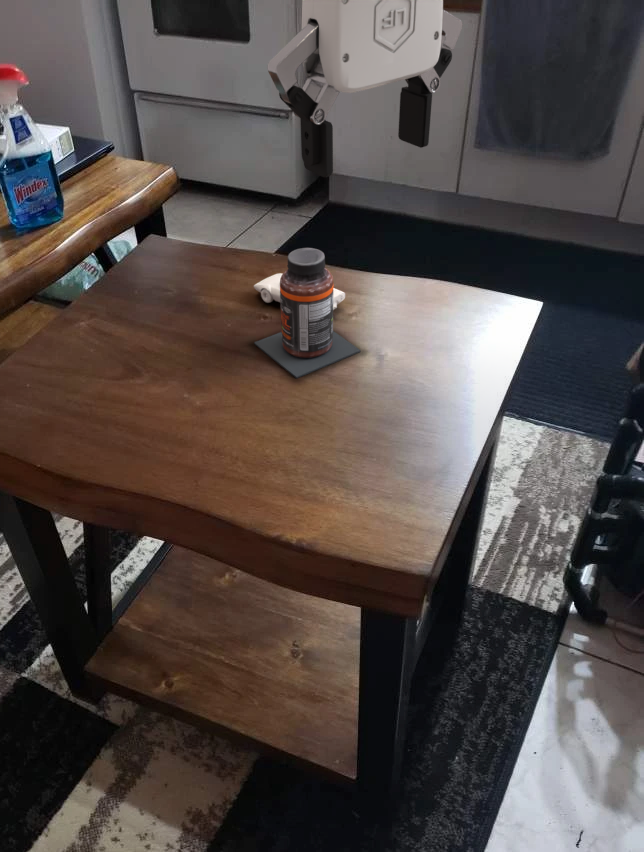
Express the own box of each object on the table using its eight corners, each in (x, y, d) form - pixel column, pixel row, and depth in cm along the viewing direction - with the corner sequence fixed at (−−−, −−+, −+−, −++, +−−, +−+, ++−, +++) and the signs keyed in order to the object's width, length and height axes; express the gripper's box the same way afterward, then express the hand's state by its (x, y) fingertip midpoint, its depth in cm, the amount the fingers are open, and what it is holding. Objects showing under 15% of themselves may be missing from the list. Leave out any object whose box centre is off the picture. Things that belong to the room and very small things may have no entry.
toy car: (278, 282, 100) (277, 258, 98) (349, 309, 94) (349, 284, 91) (250, 297, 97) (248, 272, 95) (320, 326, 91) (321, 300, 89)
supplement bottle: (275, 338, 89) (271, 248, 82) (322, 328, 91) (322, 238, 83) (291, 364, 85) (288, 272, 77) (340, 354, 86) (342, 261, 78)
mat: (315, 320, 93) (315, 318, 92) (360, 351, 87) (360, 350, 87) (254, 344, 89) (254, 342, 89) (296, 378, 84) (296, 376, 84)
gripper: (295, -91, 44) (304, 198, 56) (510, -125, 50) (478, 143, 62) (232, -97, 49) (253, 171, 61) (435, -127, 55) (418, 122, 67)
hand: (366, 157), depth 61 cm, fingers open, 9 cm apart
